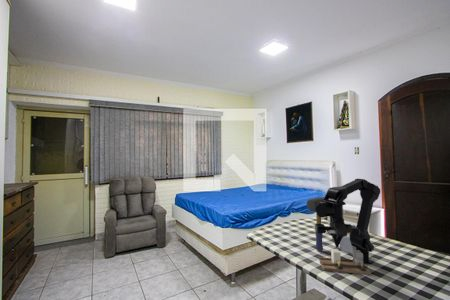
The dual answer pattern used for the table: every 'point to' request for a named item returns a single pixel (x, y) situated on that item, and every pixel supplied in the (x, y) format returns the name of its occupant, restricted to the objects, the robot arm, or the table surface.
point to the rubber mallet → (312, 207)
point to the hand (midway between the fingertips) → (336, 247)
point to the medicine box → (347, 244)
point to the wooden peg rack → (346, 264)
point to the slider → (335, 256)
